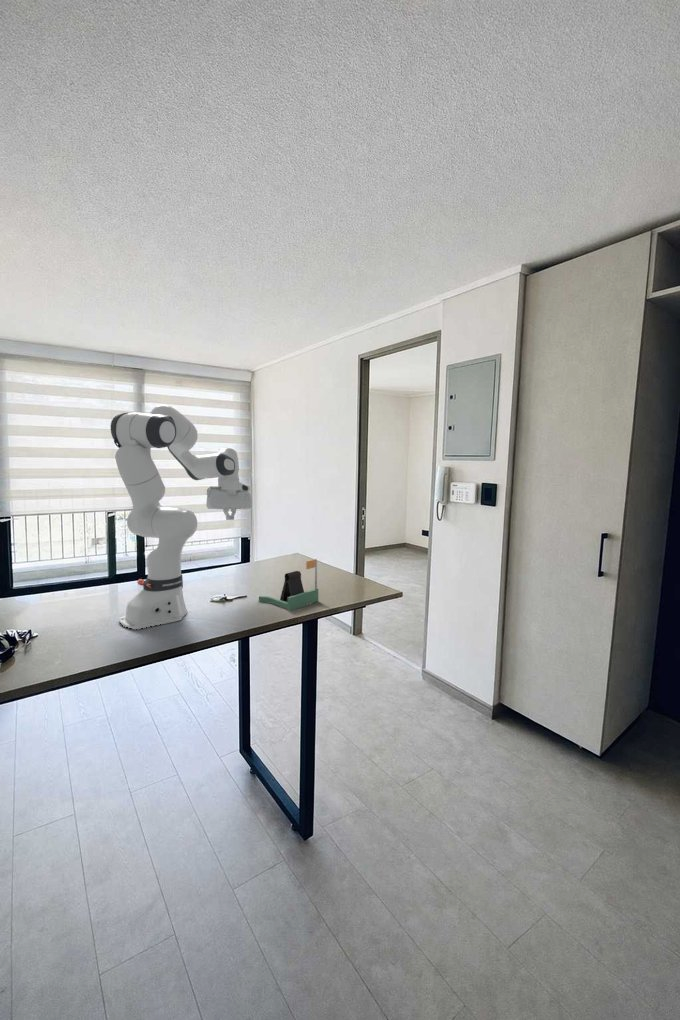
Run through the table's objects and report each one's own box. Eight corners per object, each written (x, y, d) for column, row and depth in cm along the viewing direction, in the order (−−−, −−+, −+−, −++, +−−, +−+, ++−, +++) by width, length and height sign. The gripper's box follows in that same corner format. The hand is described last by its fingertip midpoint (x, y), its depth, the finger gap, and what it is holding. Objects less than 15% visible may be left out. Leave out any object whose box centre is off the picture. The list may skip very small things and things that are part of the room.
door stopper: (306, 602, 174) (306, 572, 173) (295, 606, 170) (294, 575, 169) (291, 597, 180) (291, 568, 179) (279, 601, 176) (279, 571, 175)
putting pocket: (287, 611, 164) (286, 566, 162) (257, 601, 176) (257, 559, 174) (320, 600, 177) (320, 558, 175) (290, 591, 188) (290, 552, 186)
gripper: (211, 485, 179) (212, 519, 178) (253, 487, 194) (254, 519, 193) (202, 486, 183) (203, 520, 182) (244, 488, 198) (245, 520, 197)
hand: (230, 519), depth 188 cm, fingers closed
